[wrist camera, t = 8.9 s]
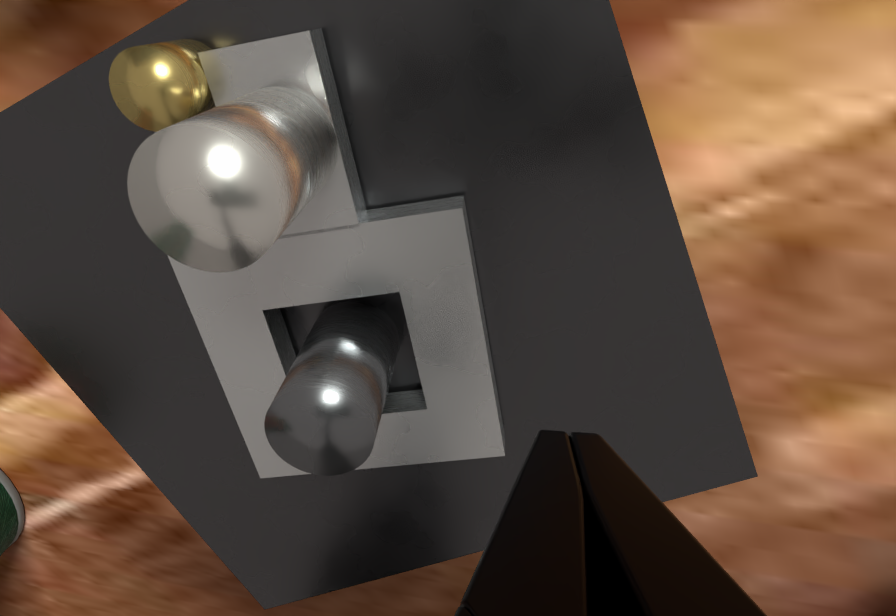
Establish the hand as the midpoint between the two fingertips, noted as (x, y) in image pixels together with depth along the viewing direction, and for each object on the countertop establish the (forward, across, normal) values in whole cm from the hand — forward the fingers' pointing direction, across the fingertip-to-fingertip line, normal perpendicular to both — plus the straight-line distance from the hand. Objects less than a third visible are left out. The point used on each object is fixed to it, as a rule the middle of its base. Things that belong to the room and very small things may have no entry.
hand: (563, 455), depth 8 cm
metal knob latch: (+11, +6, +3) cm, 13 cm away
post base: (+12, +5, +5) cm, 14 cm away
